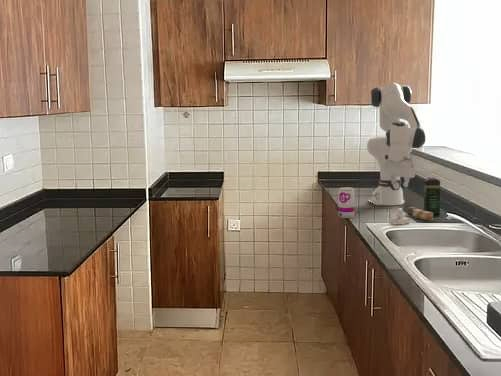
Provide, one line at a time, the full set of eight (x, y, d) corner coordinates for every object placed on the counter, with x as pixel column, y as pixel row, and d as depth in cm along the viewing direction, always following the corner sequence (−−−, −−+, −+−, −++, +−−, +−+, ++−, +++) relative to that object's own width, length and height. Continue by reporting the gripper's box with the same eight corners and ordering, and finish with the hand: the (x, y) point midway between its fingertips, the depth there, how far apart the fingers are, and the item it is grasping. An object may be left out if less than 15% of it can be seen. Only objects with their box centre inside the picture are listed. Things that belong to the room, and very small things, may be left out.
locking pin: (395, 223, 276) (395, 208, 276) (400, 222, 277) (400, 208, 276) (398, 224, 274) (398, 209, 273) (403, 223, 275) (403, 208, 274)
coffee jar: (441, 215, 293) (441, 178, 291) (425, 215, 294) (425, 178, 292) (438, 211, 302) (438, 176, 300) (423, 211, 304) (422, 176, 301)
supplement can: (351, 218, 292) (350, 189, 290) (336, 217, 296) (335, 188, 294) (357, 216, 299) (356, 187, 297) (342, 215, 303) (341, 186, 301)
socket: (390, 222, 277) (390, 217, 277) (401, 221, 280) (401, 216, 279) (397, 224, 272) (397, 219, 271) (409, 223, 274) (409, 218, 273)
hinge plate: (403, 215, 296) (403, 214, 296) (413, 214, 298) (413, 213, 298) (425, 220, 279) (425, 220, 279) (436, 219, 281) (436, 218, 281)
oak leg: (406, 214, 296) (406, 207, 295) (413, 213, 297) (413, 206, 297) (426, 219, 279) (426, 212, 279) (434, 218, 281) (434, 211, 280)
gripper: (418, 157, 263) (418, 187, 265) (393, 154, 282) (393, 182, 284) (406, 158, 261) (407, 188, 263) (381, 155, 280) (382, 183, 282)
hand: (399, 185), depth 274 cm, fingers open, 8 cm apart
